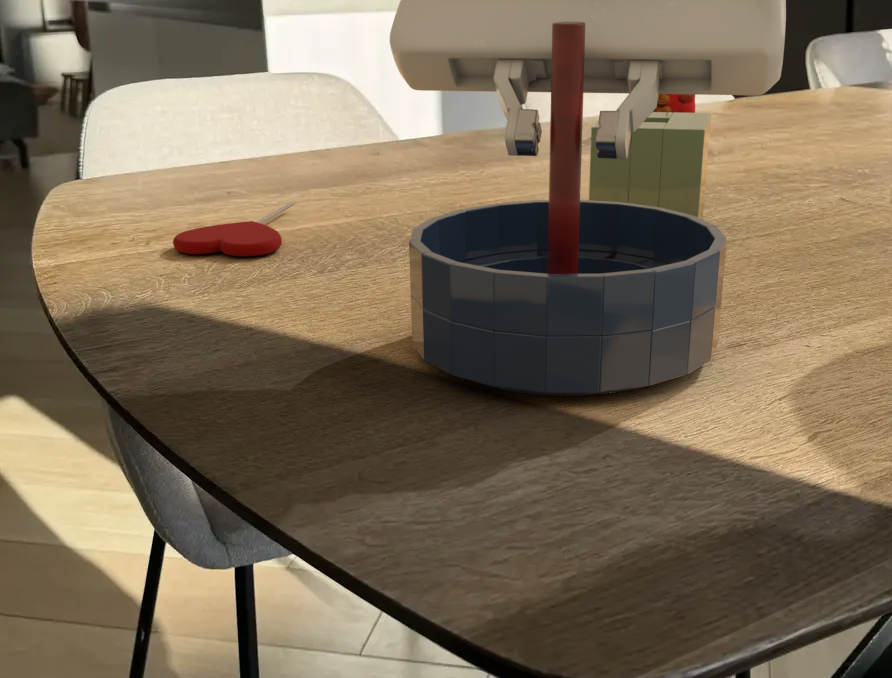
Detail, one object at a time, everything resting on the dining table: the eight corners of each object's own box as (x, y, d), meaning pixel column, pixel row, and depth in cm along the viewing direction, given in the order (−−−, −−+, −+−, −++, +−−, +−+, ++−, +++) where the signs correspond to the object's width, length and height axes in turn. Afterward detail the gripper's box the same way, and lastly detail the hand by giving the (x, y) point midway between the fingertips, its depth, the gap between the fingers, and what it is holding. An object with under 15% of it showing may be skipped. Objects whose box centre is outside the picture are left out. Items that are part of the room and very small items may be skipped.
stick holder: (602, 212, 90) (606, 111, 87) (703, 217, 88) (711, 113, 85) (587, 236, 83) (591, 127, 80) (696, 241, 81) (704, 129, 78)
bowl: (580, 290, 71) (584, 187, 68) (779, 361, 59) (793, 240, 56) (359, 341, 63) (353, 227, 60) (536, 436, 51) (538, 298, 48)
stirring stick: (563, 330, 61) (571, 21, 55) (581, 338, 60) (592, 22, 54) (540, 336, 61) (545, 22, 54) (558, 344, 59) (566, 24, 53)
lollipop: (247, 207, 94) (162, 253, 81) (246, 196, 94) (161, 240, 80) (338, 211, 92) (266, 258, 79) (337, 200, 92) (265, 246, 78)
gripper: (403, -107, 60) (351, 107, 55) (800, -120, 55) (779, 115, 50) (428, -21, 66) (383, 179, 61) (789, -25, 61) (769, 193, 56)
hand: (565, 150), depth 56 cm, fingers open, 3 cm apart
